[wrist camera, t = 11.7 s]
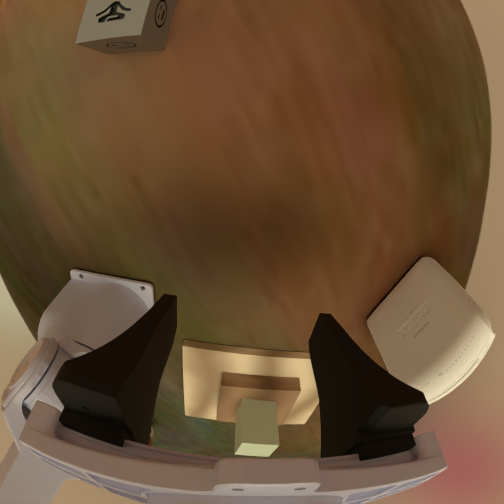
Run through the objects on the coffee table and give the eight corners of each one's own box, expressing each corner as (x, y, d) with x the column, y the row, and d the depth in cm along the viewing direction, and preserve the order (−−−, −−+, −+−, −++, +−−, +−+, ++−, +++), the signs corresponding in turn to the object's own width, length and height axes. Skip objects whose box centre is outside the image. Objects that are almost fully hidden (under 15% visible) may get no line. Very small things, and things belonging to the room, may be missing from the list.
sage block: (235, 413, 31) (234, 454, 25) (242, 398, 29) (242, 442, 23) (266, 416, 31) (268, 456, 26) (276, 401, 29) (279, 445, 24)
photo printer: (423, 247, 23) (498, 328, 12) (442, 266, 24) (508, 343, 13) (358, 321, 27) (397, 418, 16) (382, 333, 28) (421, 421, 17)
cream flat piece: (186, 409, 36) (183, 426, 33) (184, 339, 28) (179, 359, 26) (303, 418, 37) (305, 434, 34) (342, 353, 30) (348, 372, 27)
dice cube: (108, 53, 15) (75, 43, 11) (121, 3, 13) (93, -16, 9) (164, 50, 16) (140, 34, 11) (177, -2, 14) (159, -27, 9)
